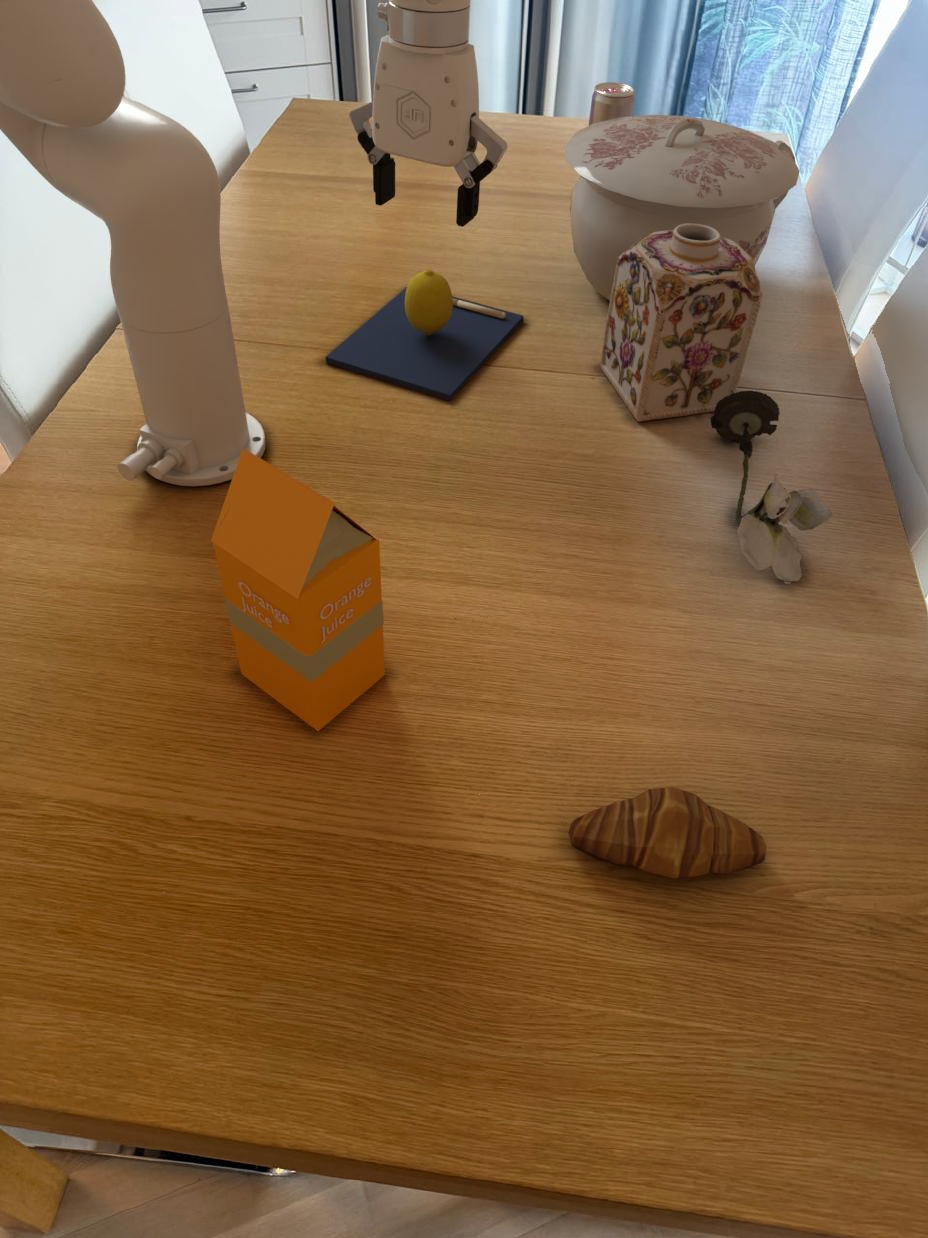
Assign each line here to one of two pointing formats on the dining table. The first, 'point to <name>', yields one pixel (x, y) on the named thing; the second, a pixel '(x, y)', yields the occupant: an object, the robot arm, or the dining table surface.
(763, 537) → the artificial flower
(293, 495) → the orange juice
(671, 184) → the chamber pot
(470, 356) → the clipboard
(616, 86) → the beverage can
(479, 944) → the dining table surface
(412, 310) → the lemon
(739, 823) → the croissant
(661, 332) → the decorative jar
